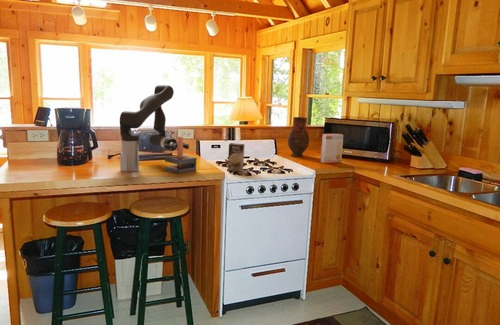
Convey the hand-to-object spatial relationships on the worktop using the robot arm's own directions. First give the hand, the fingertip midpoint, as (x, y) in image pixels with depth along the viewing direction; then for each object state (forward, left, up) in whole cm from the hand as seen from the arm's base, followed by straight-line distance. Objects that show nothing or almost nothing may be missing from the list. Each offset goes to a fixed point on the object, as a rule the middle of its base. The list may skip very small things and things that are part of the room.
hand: (181, 147), depth 214 cm
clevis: (0, +2, -14) cm, 14 cm away
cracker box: (+102, -45, -14) cm, 113 cm away
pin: (0, +2, -14) cm, 14 cm away
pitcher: (+108, -13, -14) cm, 110 cm away
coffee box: (+28, -17, -14) cm, 36 cm away
